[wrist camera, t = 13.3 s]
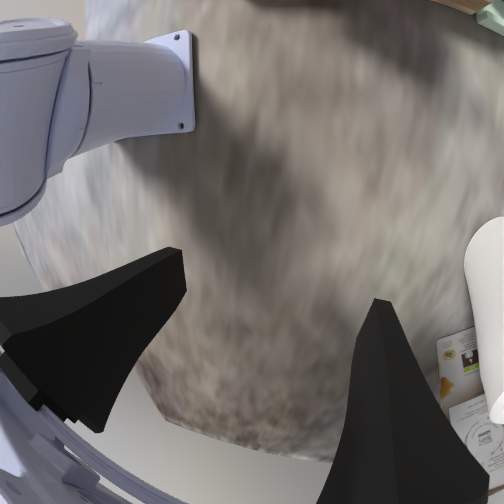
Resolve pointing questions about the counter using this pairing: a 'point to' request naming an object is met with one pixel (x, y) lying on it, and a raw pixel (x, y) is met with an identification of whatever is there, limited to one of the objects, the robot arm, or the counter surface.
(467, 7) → the slot board
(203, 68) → the counter surface
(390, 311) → the robot arm
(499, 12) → the tray
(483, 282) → the cup
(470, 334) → the coffee box
